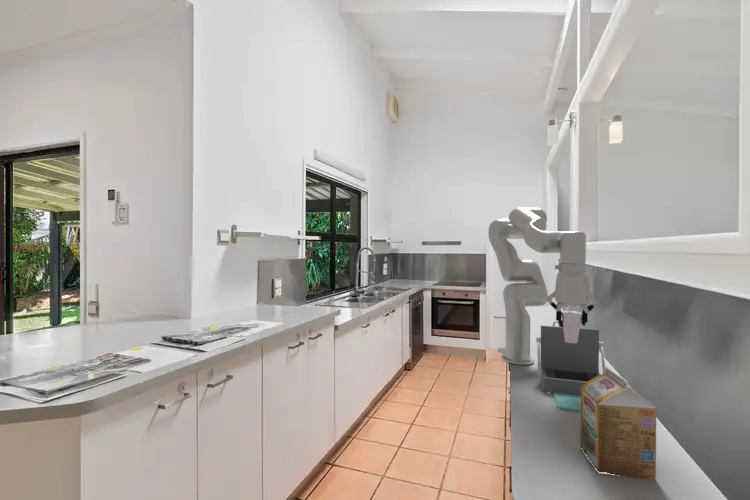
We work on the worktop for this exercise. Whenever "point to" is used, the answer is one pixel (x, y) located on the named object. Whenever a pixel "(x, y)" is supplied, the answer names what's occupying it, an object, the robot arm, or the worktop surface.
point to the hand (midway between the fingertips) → (571, 323)
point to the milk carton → (618, 427)
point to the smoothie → (571, 325)
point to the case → (568, 360)
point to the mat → (568, 401)
